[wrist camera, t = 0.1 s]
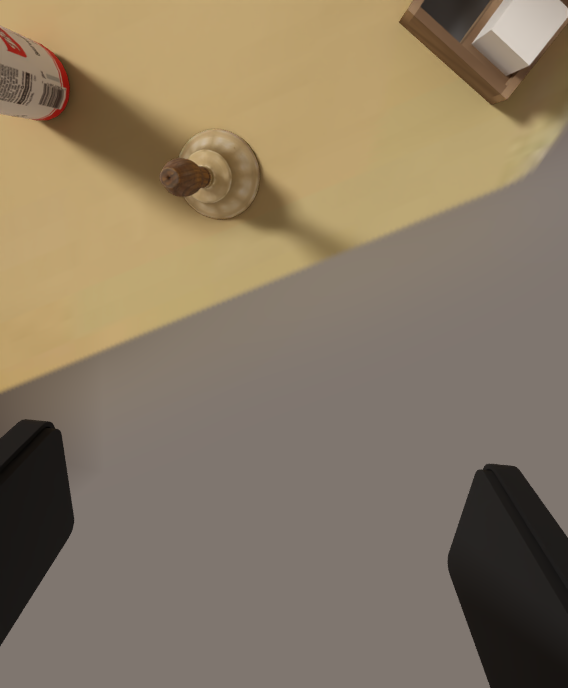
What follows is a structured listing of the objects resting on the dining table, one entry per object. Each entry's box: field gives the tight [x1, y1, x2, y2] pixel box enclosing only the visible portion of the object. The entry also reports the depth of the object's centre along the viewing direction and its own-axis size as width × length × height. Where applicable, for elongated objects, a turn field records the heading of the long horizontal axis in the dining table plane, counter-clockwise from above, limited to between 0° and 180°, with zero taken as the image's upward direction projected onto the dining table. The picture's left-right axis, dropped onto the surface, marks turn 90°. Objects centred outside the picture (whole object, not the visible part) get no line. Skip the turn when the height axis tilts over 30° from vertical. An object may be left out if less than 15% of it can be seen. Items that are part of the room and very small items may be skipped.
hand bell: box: [160, 129, 260, 219], centre depth 34 cm, size 8×8×16 cm
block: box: [472, 0, 568, 76], centre depth 33 cm, size 4×4×4 cm
